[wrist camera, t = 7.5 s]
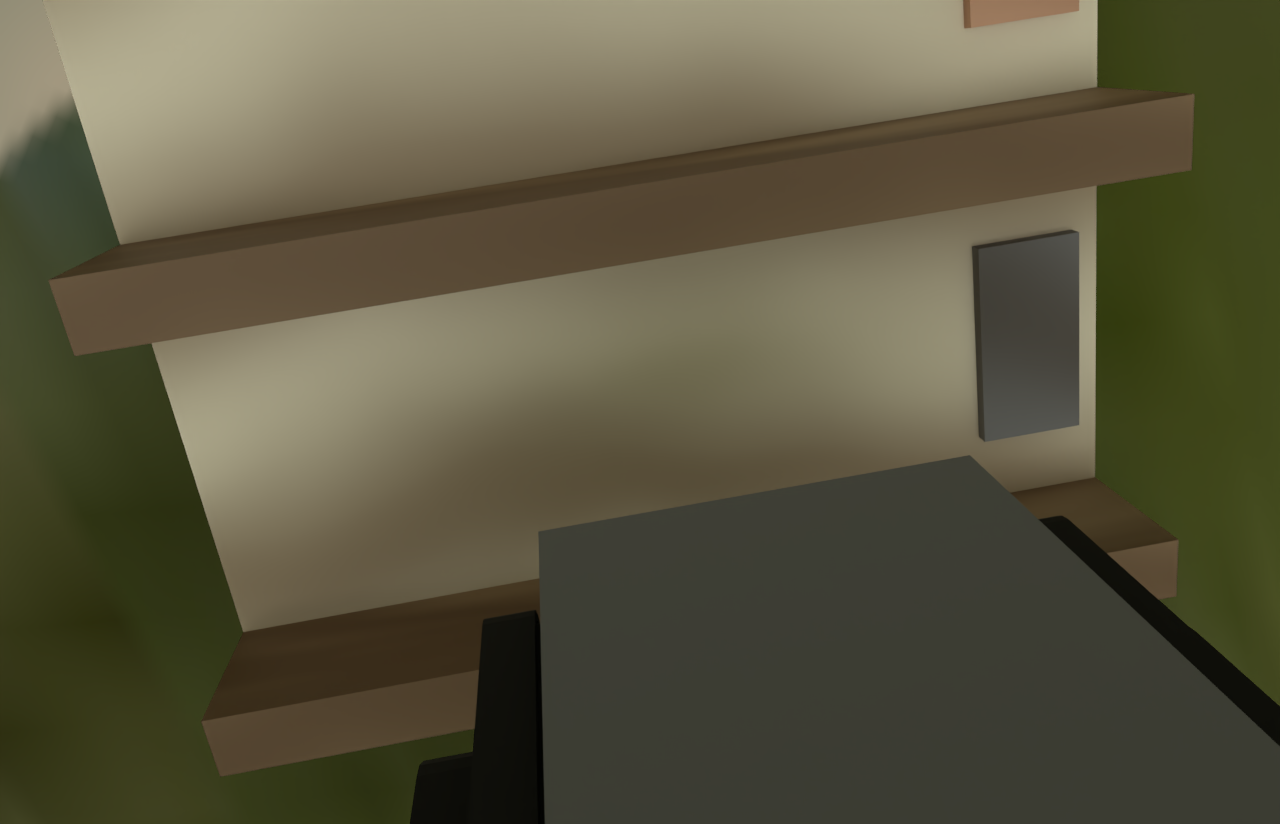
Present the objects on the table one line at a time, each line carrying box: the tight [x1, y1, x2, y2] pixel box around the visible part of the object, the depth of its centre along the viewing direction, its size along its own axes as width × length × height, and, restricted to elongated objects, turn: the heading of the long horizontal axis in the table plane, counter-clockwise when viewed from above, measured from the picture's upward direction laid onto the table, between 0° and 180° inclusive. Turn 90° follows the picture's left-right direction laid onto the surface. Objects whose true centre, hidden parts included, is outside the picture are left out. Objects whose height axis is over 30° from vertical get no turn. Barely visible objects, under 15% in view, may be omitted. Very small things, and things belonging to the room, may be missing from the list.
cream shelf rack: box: [42, 0, 1194, 777], centre depth 19 cm, size 18×18×4 cm
